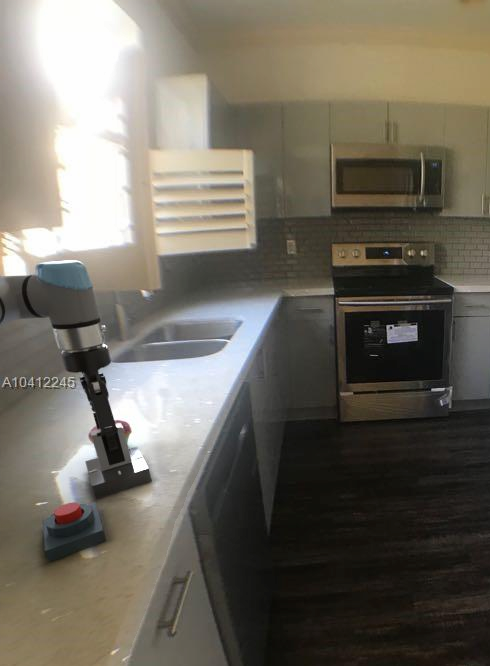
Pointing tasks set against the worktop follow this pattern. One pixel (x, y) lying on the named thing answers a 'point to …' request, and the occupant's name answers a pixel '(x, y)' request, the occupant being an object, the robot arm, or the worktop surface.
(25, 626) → the worktop surface
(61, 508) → the button
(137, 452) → the plate
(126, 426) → the cupcake
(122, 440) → the hob knob
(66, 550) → the button box
